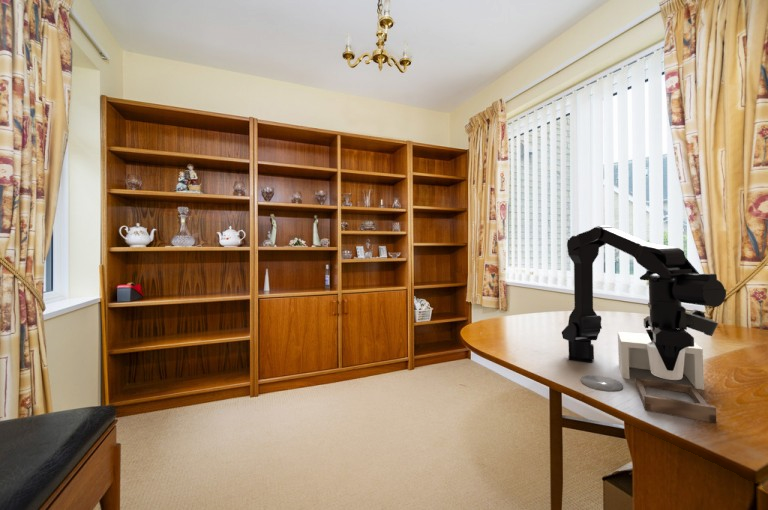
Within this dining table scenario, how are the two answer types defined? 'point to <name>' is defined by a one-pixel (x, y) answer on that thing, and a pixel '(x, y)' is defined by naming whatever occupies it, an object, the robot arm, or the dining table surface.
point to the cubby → (636, 356)
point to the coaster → (601, 383)
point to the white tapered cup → (659, 367)
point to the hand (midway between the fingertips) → (667, 365)
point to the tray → (676, 401)
